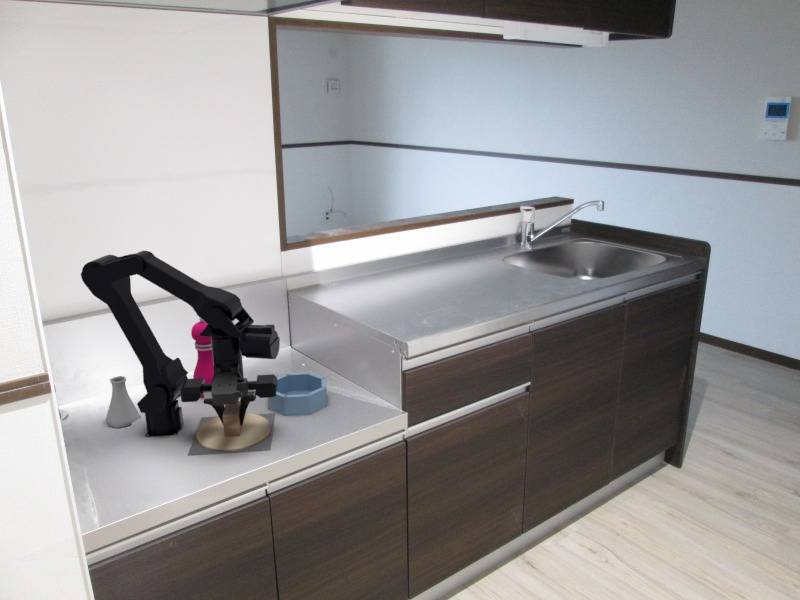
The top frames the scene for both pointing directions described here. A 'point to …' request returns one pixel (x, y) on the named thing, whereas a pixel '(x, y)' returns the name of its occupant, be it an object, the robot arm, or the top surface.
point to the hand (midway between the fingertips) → (233, 425)
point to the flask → (121, 405)
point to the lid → (233, 431)
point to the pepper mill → (203, 354)
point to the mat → (262, 446)
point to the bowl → (299, 394)
